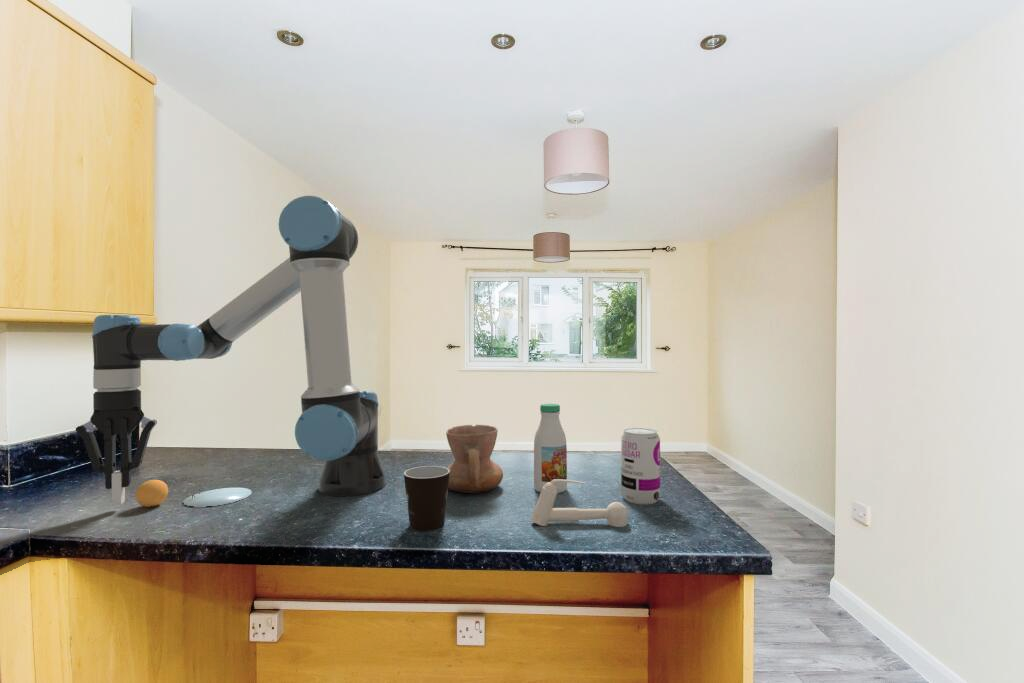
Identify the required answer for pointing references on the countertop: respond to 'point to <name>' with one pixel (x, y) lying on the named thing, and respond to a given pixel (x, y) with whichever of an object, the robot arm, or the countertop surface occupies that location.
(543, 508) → the faucet
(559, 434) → the milk bottle
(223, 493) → the disc
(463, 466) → the ceramic jug
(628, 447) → the supplement can
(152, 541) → the countertop surface
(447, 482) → the brown cup
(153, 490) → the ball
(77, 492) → the countertop surface
